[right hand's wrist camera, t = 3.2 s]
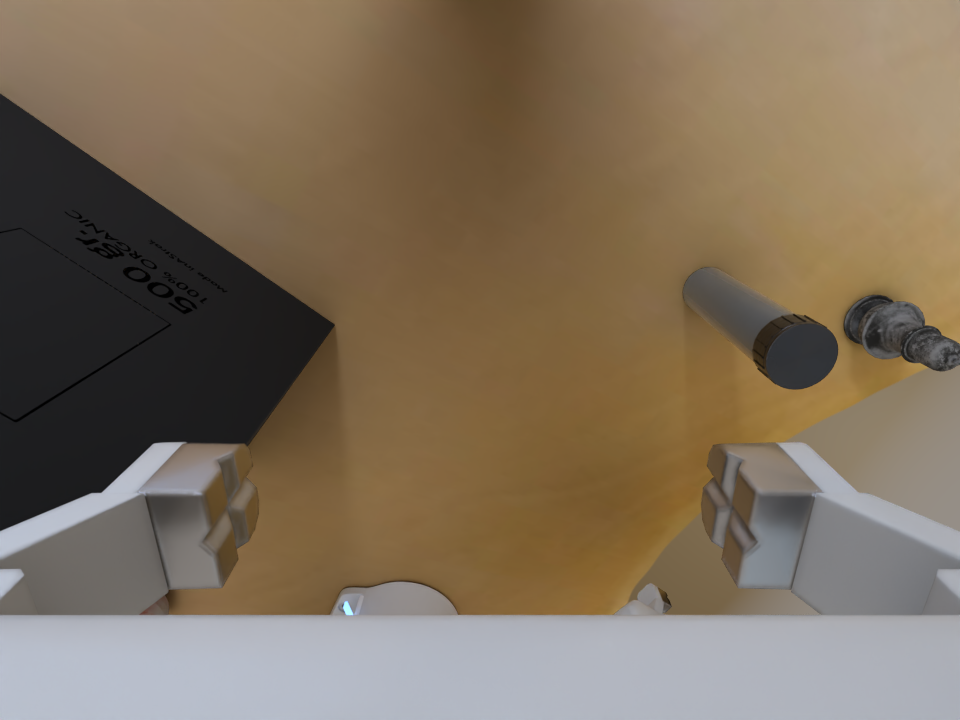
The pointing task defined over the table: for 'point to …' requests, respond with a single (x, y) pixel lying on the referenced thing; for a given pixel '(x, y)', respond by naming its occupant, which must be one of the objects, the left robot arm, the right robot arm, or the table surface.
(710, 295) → the grey cylindrical piece
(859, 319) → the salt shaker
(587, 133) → the table surface
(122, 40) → the table surface
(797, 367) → the lid
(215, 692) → the right robot arm
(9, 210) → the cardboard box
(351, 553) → the table surface
